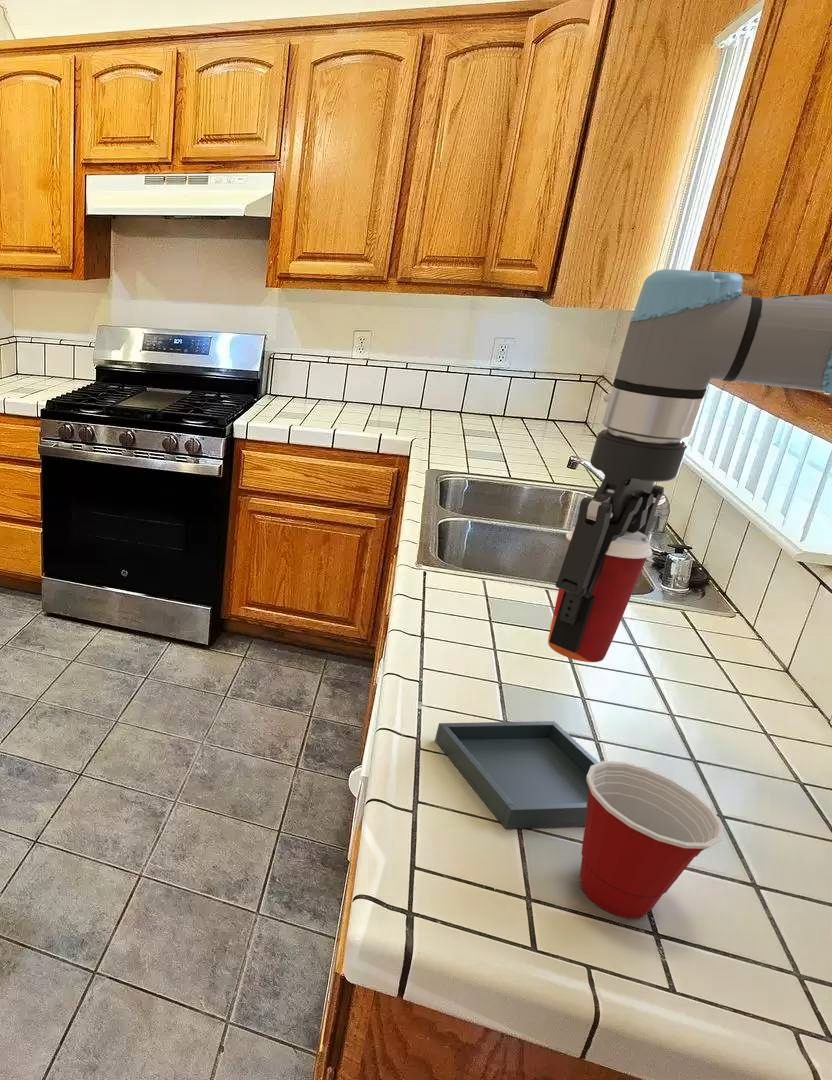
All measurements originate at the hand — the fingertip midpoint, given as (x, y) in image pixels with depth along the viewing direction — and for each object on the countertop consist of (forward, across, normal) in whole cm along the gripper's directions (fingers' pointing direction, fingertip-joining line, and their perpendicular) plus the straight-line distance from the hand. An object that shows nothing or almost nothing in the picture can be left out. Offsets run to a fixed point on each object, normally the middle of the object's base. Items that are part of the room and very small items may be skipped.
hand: (578, 638), depth 83 cm
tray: (+19, +2, 0) cm, 19 cm away
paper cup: (+2, 0, 0) cm, 2 cm away
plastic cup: (+19, +12, +14) cm, 26 cm away
